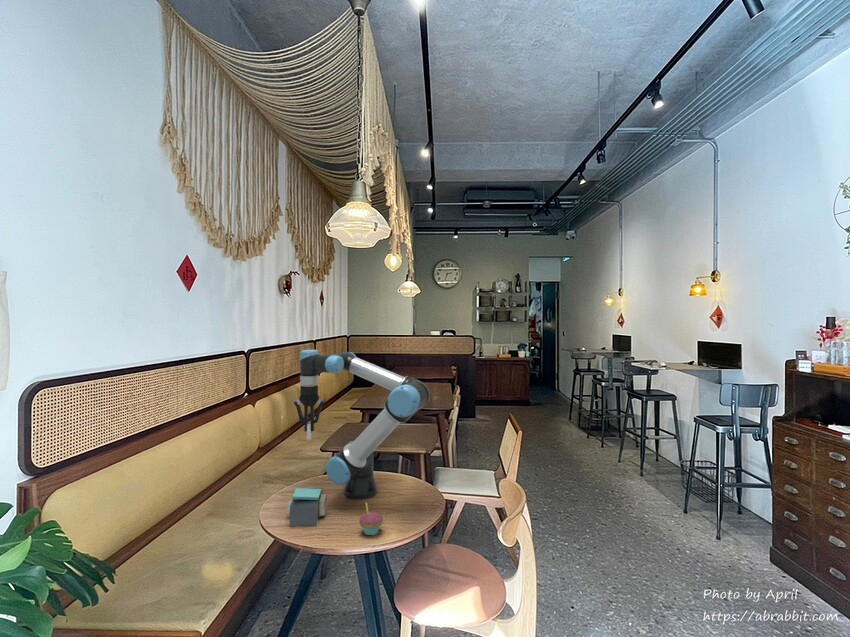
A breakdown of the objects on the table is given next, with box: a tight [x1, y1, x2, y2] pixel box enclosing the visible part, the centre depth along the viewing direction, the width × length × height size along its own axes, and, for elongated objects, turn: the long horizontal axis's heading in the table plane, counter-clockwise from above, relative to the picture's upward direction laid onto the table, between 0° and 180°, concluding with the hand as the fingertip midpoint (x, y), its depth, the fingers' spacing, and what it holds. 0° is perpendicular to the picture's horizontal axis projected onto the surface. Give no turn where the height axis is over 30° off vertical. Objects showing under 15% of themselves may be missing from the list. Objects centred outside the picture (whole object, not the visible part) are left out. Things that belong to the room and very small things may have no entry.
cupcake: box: [359, 501, 384, 536], centre depth 158 cm, size 9×8×12 cm
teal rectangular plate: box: [291, 487, 321, 500], centre depth 171 cm, size 10×8×1 cm
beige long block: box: [286, 493, 328, 517], centre depth 171 cm, size 15×6×6 cm, turn 95°
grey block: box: [289, 487, 324, 528], centre depth 171 cm, size 10×16×8 cm, turn 5°
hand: (309, 438), depth 187 cm, fingers closed
